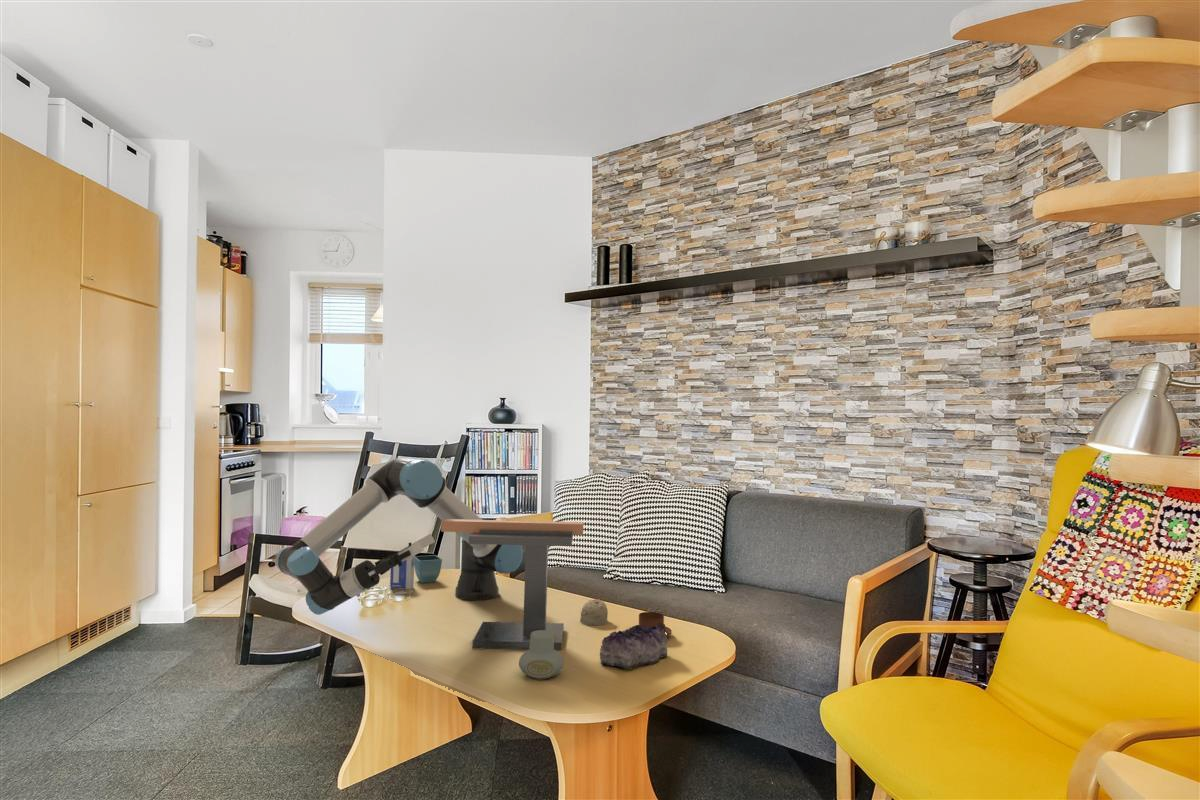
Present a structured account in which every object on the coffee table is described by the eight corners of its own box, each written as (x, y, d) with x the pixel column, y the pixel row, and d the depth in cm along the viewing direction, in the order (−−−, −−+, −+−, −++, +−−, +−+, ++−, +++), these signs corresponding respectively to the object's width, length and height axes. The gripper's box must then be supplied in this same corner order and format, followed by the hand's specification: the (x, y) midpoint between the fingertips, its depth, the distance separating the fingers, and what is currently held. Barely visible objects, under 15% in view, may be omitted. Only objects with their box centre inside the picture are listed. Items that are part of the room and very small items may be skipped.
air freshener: (564, 669, 169) (565, 628, 170) (562, 681, 161) (563, 639, 162) (520, 668, 169) (521, 627, 170) (516, 680, 161) (517, 638, 162)
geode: (645, 647, 189) (650, 612, 188) (675, 664, 180) (681, 627, 180) (590, 659, 175) (595, 621, 175) (620, 679, 166) (626, 639, 166)
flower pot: (441, 582, 257) (442, 558, 258) (418, 584, 253) (419, 560, 253) (435, 577, 265) (435, 554, 265) (412, 580, 260) (413, 556, 261)
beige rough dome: (608, 635, 210) (615, 606, 215) (598, 624, 204) (606, 595, 209) (583, 630, 214) (591, 602, 219) (573, 620, 207) (581, 591, 212)
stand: (465, 648, 183) (469, 532, 184) (475, 628, 201) (479, 523, 202) (568, 650, 184) (571, 535, 185) (570, 630, 202) (573, 525, 203)
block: (441, 531, 191) (441, 520, 191) (444, 529, 195) (444, 519, 195) (583, 534, 192) (583, 524, 192) (583, 532, 196) (583, 522, 196)
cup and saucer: (678, 635, 200) (679, 614, 200) (658, 645, 190) (659, 623, 190) (643, 628, 207) (644, 607, 207) (622, 637, 197) (623, 616, 197)
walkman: (389, 588, 246) (391, 555, 247) (392, 586, 249) (394, 553, 250) (411, 589, 246) (412, 556, 246) (413, 587, 248) (414, 554, 249)
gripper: (380, 579, 204) (442, 545, 205) (351, 601, 180) (422, 562, 180) (368, 557, 205) (431, 523, 205) (338, 576, 180) (409, 537, 180)
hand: (427, 541), depth 193 cm, fingers open, 13 cm apart
